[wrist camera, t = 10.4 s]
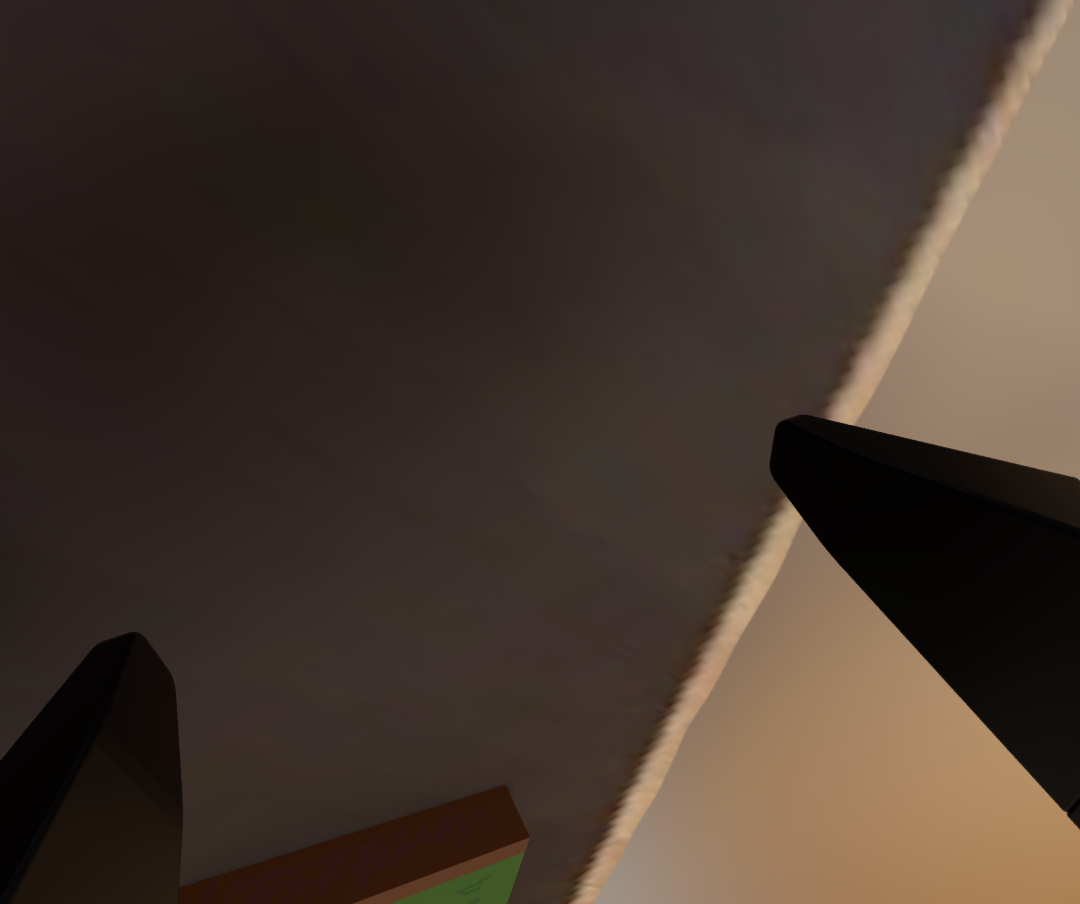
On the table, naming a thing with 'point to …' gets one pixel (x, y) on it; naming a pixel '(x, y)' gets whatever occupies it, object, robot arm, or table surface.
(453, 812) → the hardcover book
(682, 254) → the table surface
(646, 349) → the table surface
